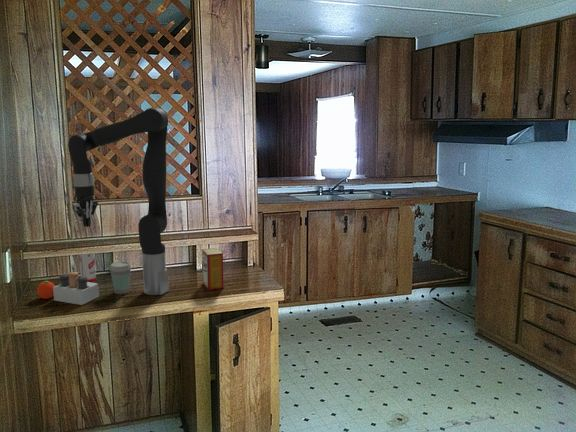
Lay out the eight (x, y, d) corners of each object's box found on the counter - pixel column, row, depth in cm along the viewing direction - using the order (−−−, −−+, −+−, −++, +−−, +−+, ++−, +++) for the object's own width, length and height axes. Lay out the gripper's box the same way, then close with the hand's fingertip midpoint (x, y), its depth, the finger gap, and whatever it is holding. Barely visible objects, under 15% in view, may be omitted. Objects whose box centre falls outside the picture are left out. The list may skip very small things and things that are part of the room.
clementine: (40, 294, 214) (38, 278, 212) (58, 293, 215) (57, 277, 214) (35, 302, 206) (34, 284, 205) (54, 300, 208) (53, 283, 206)
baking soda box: (202, 283, 230) (202, 248, 226) (217, 281, 232) (216, 247, 229) (208, 290, 221) (207, 254, 218) (223, 288, 224) (222, 252, 220)
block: (99, 296, 213) (98, 283, 212) (82, 305, 204) (81, 291, 202) (72, 292, 217) (71, 279, 216) (54, 300, 208) (52, 287, 207)
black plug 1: (73, 293, 212) (72, 275, 210) (66, 296, 208) (65, 277, 207) (65, 292, 213) (64, 273, 211) (58, 295, 209) (57, 276, 208)
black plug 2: (90, 296, 209) (89, 277, 207) (84, 299, 205) (82, 280, 204) (83, 295, 210) (81, 276, 209) (76, 298, 207) (74, 279, 205)
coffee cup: (132, 294, 216) (131, 266, 213) (110, 296, 213) (109, 267, 211) (132, 287, 224) (131, 260, 221) (111, 289, 221) (109, 261, 219)
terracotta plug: (81, 291, 210) (80, 272, 208) (75, 294, 206) (73, 275, 205) (74, 289, 211) (72, 271, 210) (67, 292, 208) (65, 274, 206)
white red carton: (98, 279, 233) (96, 245, 229) (92, 284, 227) (89, 248, 223) (85, 279, 233) (82, 244, 230) (78, 284, 227) (75, 248, 224)
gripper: (80, 187, 203) (84, 230, 207) (102, 182, 216) (105, 223, 219) (64, 186, 206) (68, 229, 209) (87, 181, 218) (90, 222, 222)
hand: (87, 226), depth 214 cm, fingers closed
